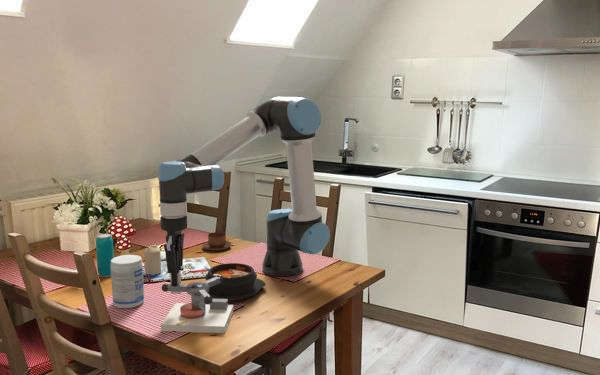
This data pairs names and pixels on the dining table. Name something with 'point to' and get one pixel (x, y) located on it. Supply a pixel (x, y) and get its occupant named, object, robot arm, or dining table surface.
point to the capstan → (195, 296)
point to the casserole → (234, 281)
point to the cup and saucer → (216, 242)
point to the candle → (153, 260)
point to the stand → (200, 318)
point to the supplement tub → (127, 281)
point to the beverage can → (104, 254)
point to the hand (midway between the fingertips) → (176, 292)
